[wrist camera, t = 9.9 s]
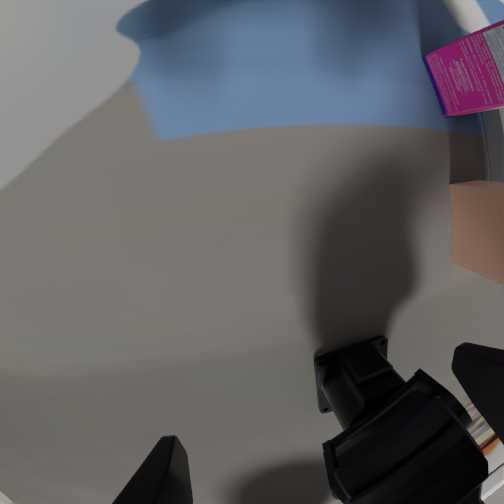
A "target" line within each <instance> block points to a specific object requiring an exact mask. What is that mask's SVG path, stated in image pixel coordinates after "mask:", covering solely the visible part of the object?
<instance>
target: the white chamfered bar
mask: <svg viewBox="0 0 504 504" xmlns="http://www.w3.org/2000/svg"><path fill="white" fill-rule="evenodd" d="M503 484H504V465H502V466H501V467H500V468H499V469H497V470H496V471H495V472H494V473H492V474H491V475H490V476H488V478H487V479H486V480H485V481H484V482H483V483H482V491H481V499H482V501H483V500H484V499H485V498H487V497H488V496H489V495H491V494H492V493H493V492H494V491H496V490H497V489H498V488H499V487H501V486H502V485H503Z"/></svg>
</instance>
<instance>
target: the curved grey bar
mask: <svg viewBox="0 0 504 504" xmlns="http://www.w3.org/2000/svg"><path fill="white" fill-rule="evenodd" d="M481 114H482V119H483V124H484V129H485V135H486V141H487V148H488V155H489V163H490V173H491V181H496V182H504V108H498V109H493V110H487V111H482V112H481Z"/></svg>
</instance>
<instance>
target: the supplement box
mask: <svg viewBox="0 0 504 504" xmlns="http://www.w3.org/2000/svg"><path fill="white" fill-rule="evenodd" d="M423 60H424V63H425V65H426V67H427V70H428V72H429V75H430V77H431V80H432V83H433V85H434V88H435V91H436V94H437V97H438V99H439V103H440V106H441V109H442V112H443V116H444V117H452V116H459V115H465V114H471V113H476V112H482V111H487V110H493V109H498V108H504V20H502V21H500V22H497V23H495V24H492V25H490V26H488V27H485V28H483V29H480V30H478V31H476V32H473V33H471V34H469V35H467V36H464V37H462V38H460V39H458V40H456V41H454V42H452V43H449V44H447V45H445V46H443V47H441V48H439V49H437V50H435V51H433V52H431V53H429V54H427V55H425V56H423Z"/></svg>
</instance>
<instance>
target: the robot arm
mask: <svg viewBox="0 0 504 504" xmlns="http://www.w3.org/2000/svg"><path fill="white" fill-rule="evenodd" d="M382 340H383V341H382ZM381 341H382V342H381ZM380 342H381V343H380ZM387 345H388V340H387V338H386V337H385V336H383V335H381V336H378V337H375V338H373V339H370V340H367V341H364V342H361V343H358V344H356V345H353V346H350V347H347V348H344V349H341V350H338V351H335V352H332V353H328V354H325V355H322V356H319V357H317V358H316V359H315V361H314V366H315V375H316V384H317V394H318V404H319V410H320V412H321V413H328V412H331V411H334V413H335V415H336V417H337V419H338V421H339V423H340V425H341V427H342V428H343V430H344V431H343V432H342V433H340V434H339V435H337V436H336V437H334V438H333V439H331V440H328V441H326V442H324V443H323V444H322V445H323V450H324V453H323V454H324V459H325V464H326V469H327V475H328V480H329V485H330V488H331V489H332V495H333V497H334V498H335V499H339V500H341V501H342V503H343V504H484V502H483V501H482V499H481V491H482V483H483V482H484V481H485V480H486V479H487V478H488V461H487V460H486V458H485V457H484V453H483V451H482V450H481V448H480V447H479V446H478V444H477V443H476V441H475V440H474V439H473V437H472V436H471V435H470V433H469V432H468V430H467V429H468V428H469V427H470V426H471V425H472V424H473V421H472V419H471V417H470V415H469V414H468V412H467V411H466V410H465V408H464V407H463V406H462V404H461V403H460V402H459V401H458V400H457V399H456V398H455V396H454V395H453V394H451V393H450V392H449V391H448V390H447V389H446V388H445V387H443V386H442V385H441V384H439V383H438V382H437V381H436V380H434V379H433V378H432V377H430V376H429V375H428V374H427V373H425V372H424V371H423V370H421V369H419V370H417V371H416V372H415V373H414V374H415V375H414V376H413V377H412V378H410V379H409V380H408V381H407V382H405V381H404V379H403V378H402V377H401V376H400V375H399V374H398V373H397V372H396V371H395V370H394V369H393V366H392V365H391V364H390V363H389V361H388V360H387ZM321 361H323V362H322V363H320V362H321ZM319 363H320V364H319ZM452 371H453V373H454V375H455V376H456V378H457V379H458V381H459V382H460V384H461V386H462V387H463V389H464V390H465V392H466V394H467V395H468V397H469V398H470V400H471V401H472V403H473V404H474V406H475V407H476V408H477V410H478V411H479V412H480V413H481V415H482V416H483V417H484V419H485V420H486V421H487V423H488V424H489V425H490V427H491V428H492V429H493V431H494V432H495V433H496V435H497V436H498V438H499V439H500V440H501V441H502V443H503V445H504V350H502V349H497V348H492V347H487V346H482V345H477V344H472V343H467V342H465V343H462V344H461V345H459V346H457V347H456V348H455V351H454V356H453V361H452ZM324 408H325V409H324ZM112 504H193V496H192V488H191V481H190V473H189V464H188V456H187V453H186V451H185V449H184V447H183V446H182V444H181V442H180V441H179V439H178V437H177V436H175V435H171V436H163V437H161V438H160V440H159V441H158V443H157V444H156V445H155V447H154V448H153V449H152V451H151V452H150V454H149V455H148V456H147V458H146V459H145V460H144V462H143V463H142V464H141V466H140V467H139V469H138V470H137V471H136V473H135V474H134V475H133V477H132V478H131V479H130V481H129V482H128V483H127V485H126V486H125V487H124V489H123V490H122V491H121V493H120V494H119V495H118V496H117V498H116V499H115V500H114V502H113V503H112Z"/></svg>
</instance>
